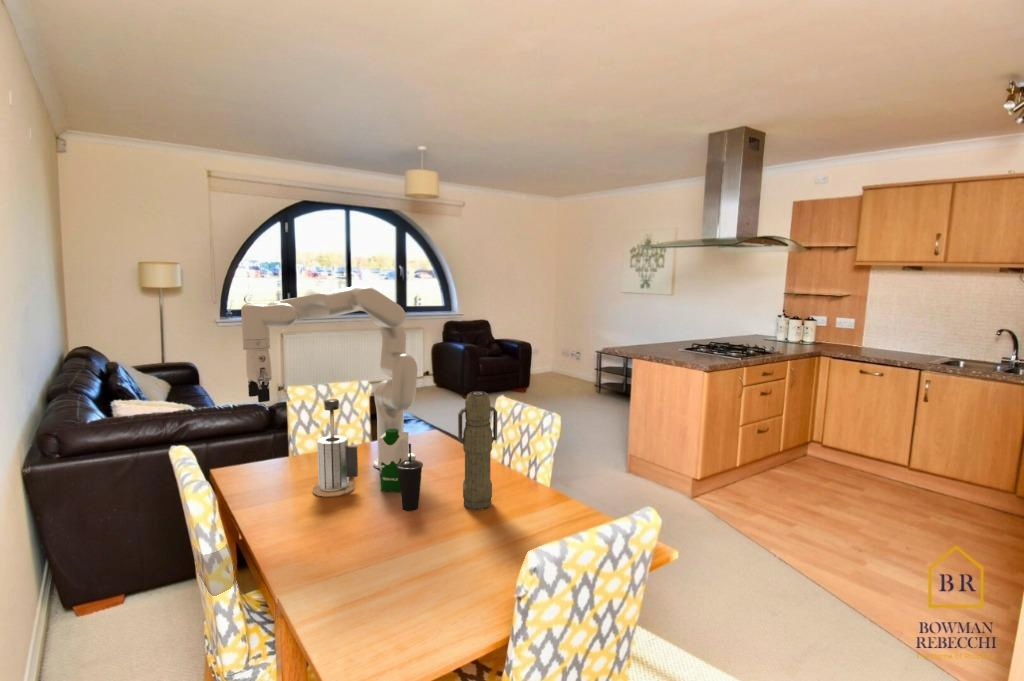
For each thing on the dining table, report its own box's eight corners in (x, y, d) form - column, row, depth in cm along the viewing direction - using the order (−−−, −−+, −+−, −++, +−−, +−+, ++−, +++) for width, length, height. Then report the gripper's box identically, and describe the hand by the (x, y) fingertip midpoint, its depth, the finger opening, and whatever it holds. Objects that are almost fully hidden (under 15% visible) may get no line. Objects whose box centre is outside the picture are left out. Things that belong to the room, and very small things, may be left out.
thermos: (454, 501, 165) (454, 391, 161) (490, 496, 170) (490, 388, 166) (463, 513, 157) (463, 397, 153) (500, 507, 162) (501, 394, 158)
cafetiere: (362, 481, 181) (361, 433, 179) (351, 497, 168) (350, 445, 166) (321, 481, 180) (319, 433, 178) (306, 497, 167) (304, 445, 166)
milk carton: (377, 492, 172) (376, 432, 170) (386, 481, 181) (385, 424, 179) (403, 493, 171) (402, 433, 169) (411, 482, 180) (411, 425, 178)
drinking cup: (417, 514, 156) (417, 448, 154) (393, 512, 158) (392, 446, 155) (427, 504, 163) (426, 441, 161) (403, 501, 165) (402, 439, 163)
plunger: (341, 454, 175) (340, 399, 173) (337, 459, 171) (336, 402, 168) (328, 454, 175) (326, 399, 173) (324, 459, 171) (322, 402, 168)
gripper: (278, 346, 159) (280, 402, 161) (260, 340, 172) (263, 392, 174) (251, 348, 154) (254, 405, 156) (235, 342, 167) (238, 395, 169)
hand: (259, 398), depth 165 cm, fingers open, 9 cm apart
